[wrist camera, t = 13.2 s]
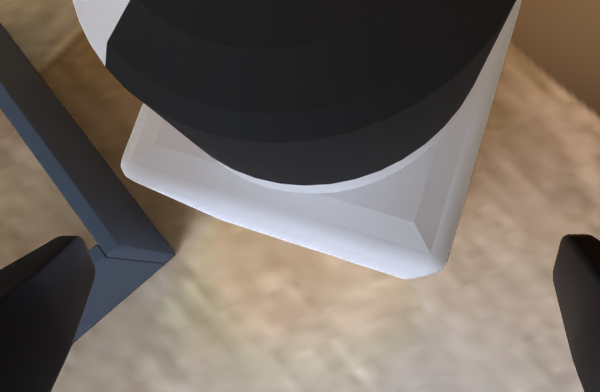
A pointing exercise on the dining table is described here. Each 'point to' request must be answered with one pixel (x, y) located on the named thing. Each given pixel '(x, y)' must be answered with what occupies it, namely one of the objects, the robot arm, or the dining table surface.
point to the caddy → (82, 186)
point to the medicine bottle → (311, 114)
